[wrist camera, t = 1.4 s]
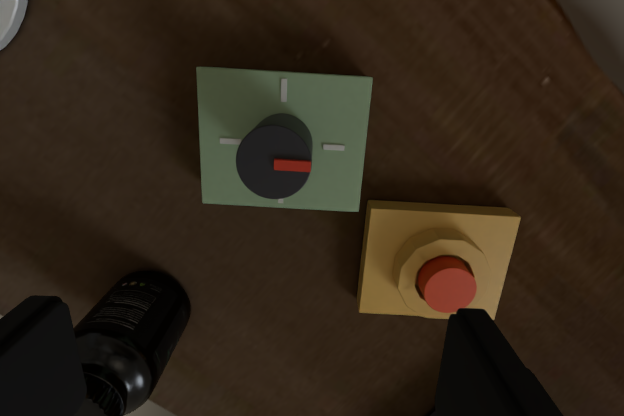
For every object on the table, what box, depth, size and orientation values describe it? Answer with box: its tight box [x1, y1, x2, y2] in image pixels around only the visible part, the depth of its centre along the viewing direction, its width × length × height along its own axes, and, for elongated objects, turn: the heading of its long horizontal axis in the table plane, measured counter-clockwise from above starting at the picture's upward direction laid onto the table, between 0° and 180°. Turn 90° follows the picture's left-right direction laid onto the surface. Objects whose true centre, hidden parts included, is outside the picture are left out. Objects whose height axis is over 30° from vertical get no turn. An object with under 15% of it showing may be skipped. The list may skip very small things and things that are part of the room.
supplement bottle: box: [73, 271, 191, 416], centre depth 27 cm, size 7×7×12 cm
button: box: [418, 256, 477, 313], centre depth 27 cm, size 4×4×2 cm
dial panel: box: [196, 67, 373, 212], centre depth 27 cm, size 11×9×3 cm
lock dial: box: [236, 113, 313, 199], centre depth 22 cm, size 4×4×6 cm
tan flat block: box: [357, 200, 521, 320], centre depth 29 cm, size 11×9×4 cm
